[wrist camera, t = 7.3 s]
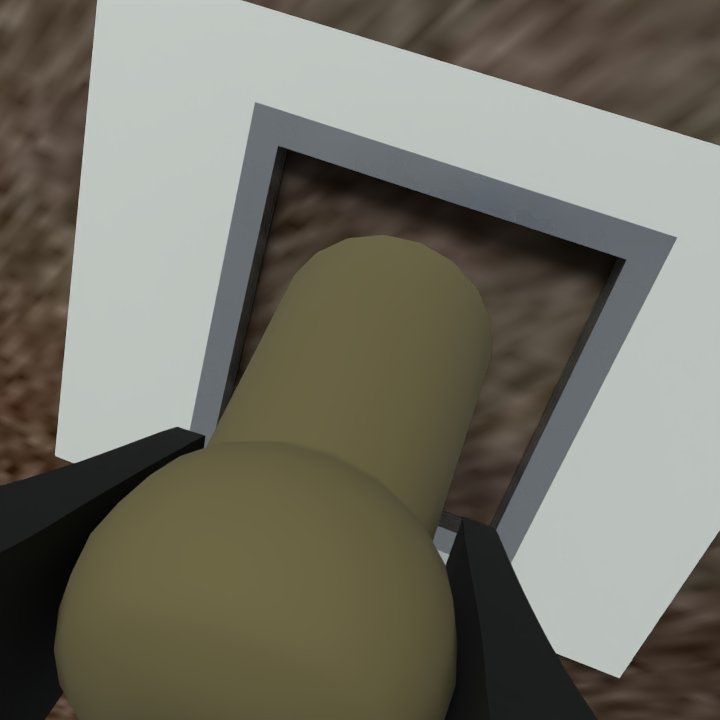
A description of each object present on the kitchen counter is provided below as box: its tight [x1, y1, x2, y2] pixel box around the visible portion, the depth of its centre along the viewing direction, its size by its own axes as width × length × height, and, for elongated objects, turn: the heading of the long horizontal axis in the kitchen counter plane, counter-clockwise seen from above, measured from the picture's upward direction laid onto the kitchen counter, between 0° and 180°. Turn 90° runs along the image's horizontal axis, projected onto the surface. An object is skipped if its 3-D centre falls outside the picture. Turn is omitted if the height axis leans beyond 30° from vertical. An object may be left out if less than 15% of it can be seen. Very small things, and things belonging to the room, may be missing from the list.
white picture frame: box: [55, 0, 720, 678], centre depth 20 cm, size 24×18×1 cm
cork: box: [54, 235, 492, 720], centre depth 11 cm, size 6×6×11 cm
